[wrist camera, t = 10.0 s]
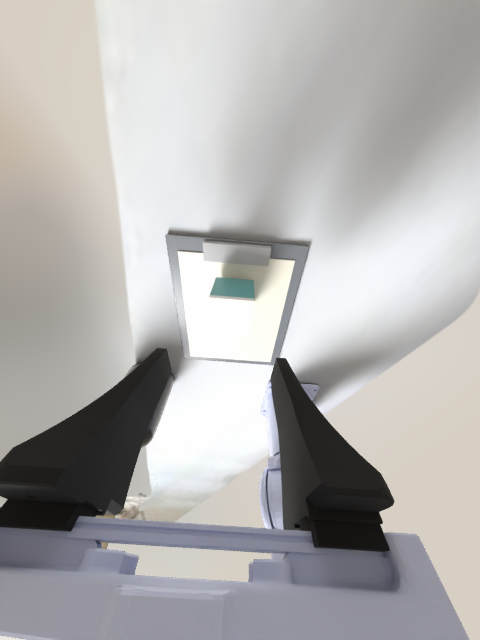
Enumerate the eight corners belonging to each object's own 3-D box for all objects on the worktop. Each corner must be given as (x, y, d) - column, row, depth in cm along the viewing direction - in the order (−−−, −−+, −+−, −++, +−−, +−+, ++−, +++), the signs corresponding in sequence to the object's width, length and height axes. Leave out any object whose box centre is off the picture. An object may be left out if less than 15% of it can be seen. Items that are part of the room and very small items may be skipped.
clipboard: (276, 362, 26) (277, 369, 25) (185, 355, 26) (182, 362, 25) (307, 245, 17) (311, 249, 16) (167, 233, 17) (162, 236, 16)
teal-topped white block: (249, 306, 21) (250, 336, 16) (217, 304, 20) (209, 333, 16) (253, 276, 18) (255, 301, 14) (217, 273, 18) (208, 297, 14)
